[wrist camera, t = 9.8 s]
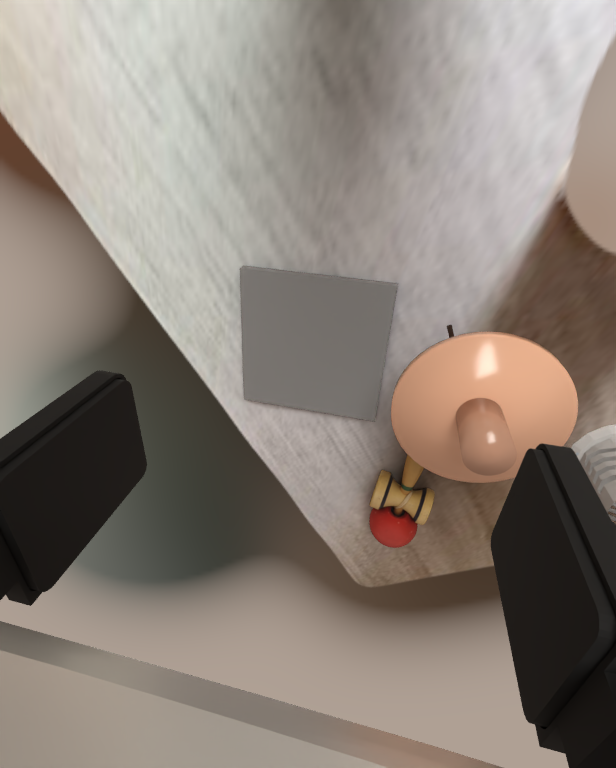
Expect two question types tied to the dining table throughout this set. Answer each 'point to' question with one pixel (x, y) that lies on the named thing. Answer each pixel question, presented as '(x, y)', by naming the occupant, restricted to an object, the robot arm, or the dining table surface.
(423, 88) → the dining table surface
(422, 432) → the lid
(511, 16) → the dining table surface
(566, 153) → the dining table surface
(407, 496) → the kendama
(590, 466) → the french press
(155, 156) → the dining table surface
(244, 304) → the mat
